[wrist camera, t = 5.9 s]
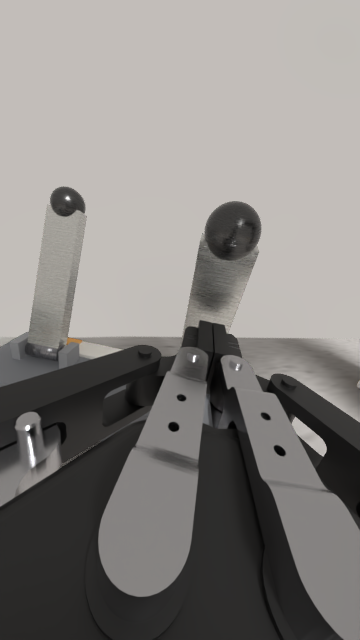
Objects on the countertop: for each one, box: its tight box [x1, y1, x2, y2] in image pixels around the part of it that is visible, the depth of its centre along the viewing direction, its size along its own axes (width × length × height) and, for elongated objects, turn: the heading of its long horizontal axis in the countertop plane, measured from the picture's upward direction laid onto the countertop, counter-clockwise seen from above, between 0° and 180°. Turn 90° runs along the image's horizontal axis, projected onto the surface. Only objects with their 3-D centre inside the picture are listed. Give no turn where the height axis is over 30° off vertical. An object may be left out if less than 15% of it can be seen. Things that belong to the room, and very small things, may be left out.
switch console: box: [0, 332, 210, 441], centre depth 21 cm, size 24×8×6 cm, turn 83°
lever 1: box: [25, 187, 87, 361], centre depth 20 cm, size 3×3×16 cm
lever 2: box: [180, 201, 261, 349], centre depth 15 cm, size 3×3×16 cm
